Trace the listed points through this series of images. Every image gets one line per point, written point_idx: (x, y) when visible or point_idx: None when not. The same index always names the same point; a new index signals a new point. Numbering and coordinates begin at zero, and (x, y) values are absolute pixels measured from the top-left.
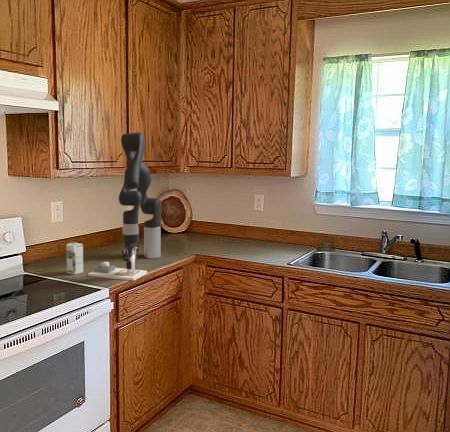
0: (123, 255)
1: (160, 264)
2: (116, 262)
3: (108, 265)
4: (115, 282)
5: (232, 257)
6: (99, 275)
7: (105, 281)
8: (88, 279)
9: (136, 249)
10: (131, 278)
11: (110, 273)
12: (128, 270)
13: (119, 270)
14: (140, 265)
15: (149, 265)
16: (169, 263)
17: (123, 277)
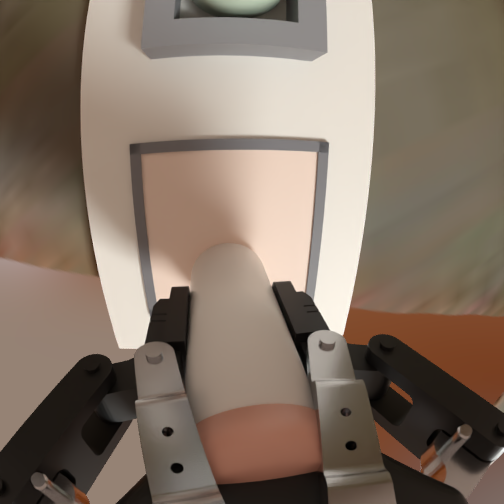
0: (30, 432)
1: (495, 287)
2: (499, 29)
3: (232, 1)
4: (28, 241)
5: (499, 403)
6: (88, 27)
7: (14, 158)
8: (26, 14)
9: (424, 448)
10: (115, 329)
11: (153, 84)
12: (190, 285)
13: (297, 112)
14: (490, 193)
15: (488, 245)
16: (500, 312)
17: (99, 268)
